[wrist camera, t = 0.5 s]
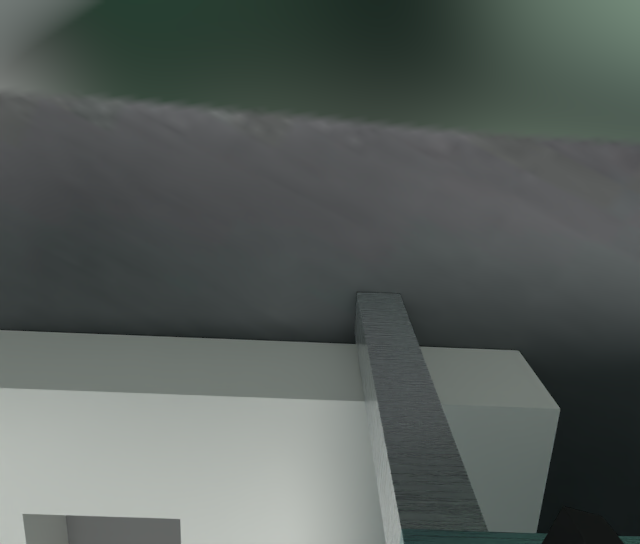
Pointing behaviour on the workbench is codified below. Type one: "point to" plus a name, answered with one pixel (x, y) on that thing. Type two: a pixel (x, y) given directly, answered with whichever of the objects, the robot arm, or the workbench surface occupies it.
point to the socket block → (239, 439)
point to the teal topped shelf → (415, 438)
